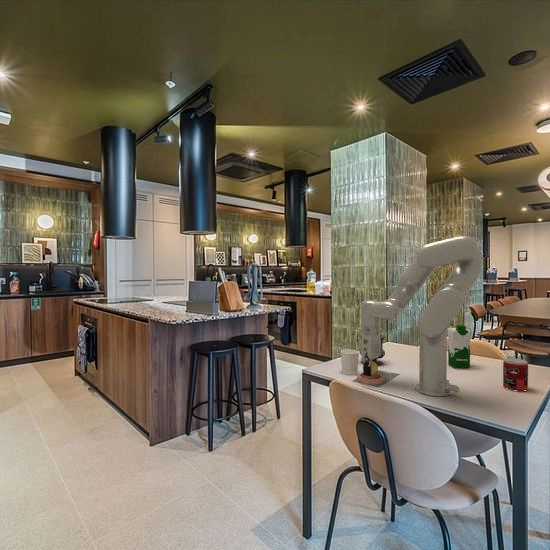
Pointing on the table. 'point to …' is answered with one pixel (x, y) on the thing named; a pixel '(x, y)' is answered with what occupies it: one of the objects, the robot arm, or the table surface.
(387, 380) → the mat
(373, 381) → the saucer
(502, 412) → the table surface
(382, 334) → the apothecary jar
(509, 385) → the canned food
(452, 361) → the milk carton
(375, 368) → the ball
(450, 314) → the robot arm
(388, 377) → the white thin block
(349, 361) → the white cup
